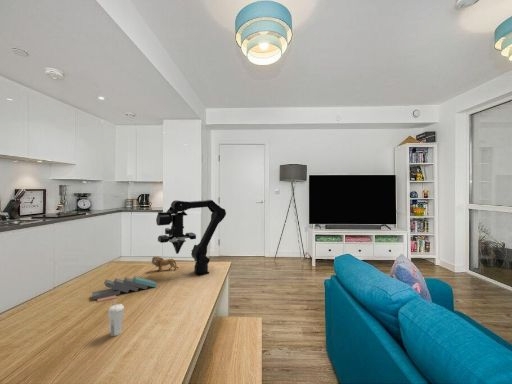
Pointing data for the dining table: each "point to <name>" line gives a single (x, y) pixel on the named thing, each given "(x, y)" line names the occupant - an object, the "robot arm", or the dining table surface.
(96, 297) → the domino
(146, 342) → the dining table surface
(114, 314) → the milkshake
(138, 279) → the domino
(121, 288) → the domino
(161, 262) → the lion figurine
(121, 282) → the domino
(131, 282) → the domino
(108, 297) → the strip
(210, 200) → the robot arm
